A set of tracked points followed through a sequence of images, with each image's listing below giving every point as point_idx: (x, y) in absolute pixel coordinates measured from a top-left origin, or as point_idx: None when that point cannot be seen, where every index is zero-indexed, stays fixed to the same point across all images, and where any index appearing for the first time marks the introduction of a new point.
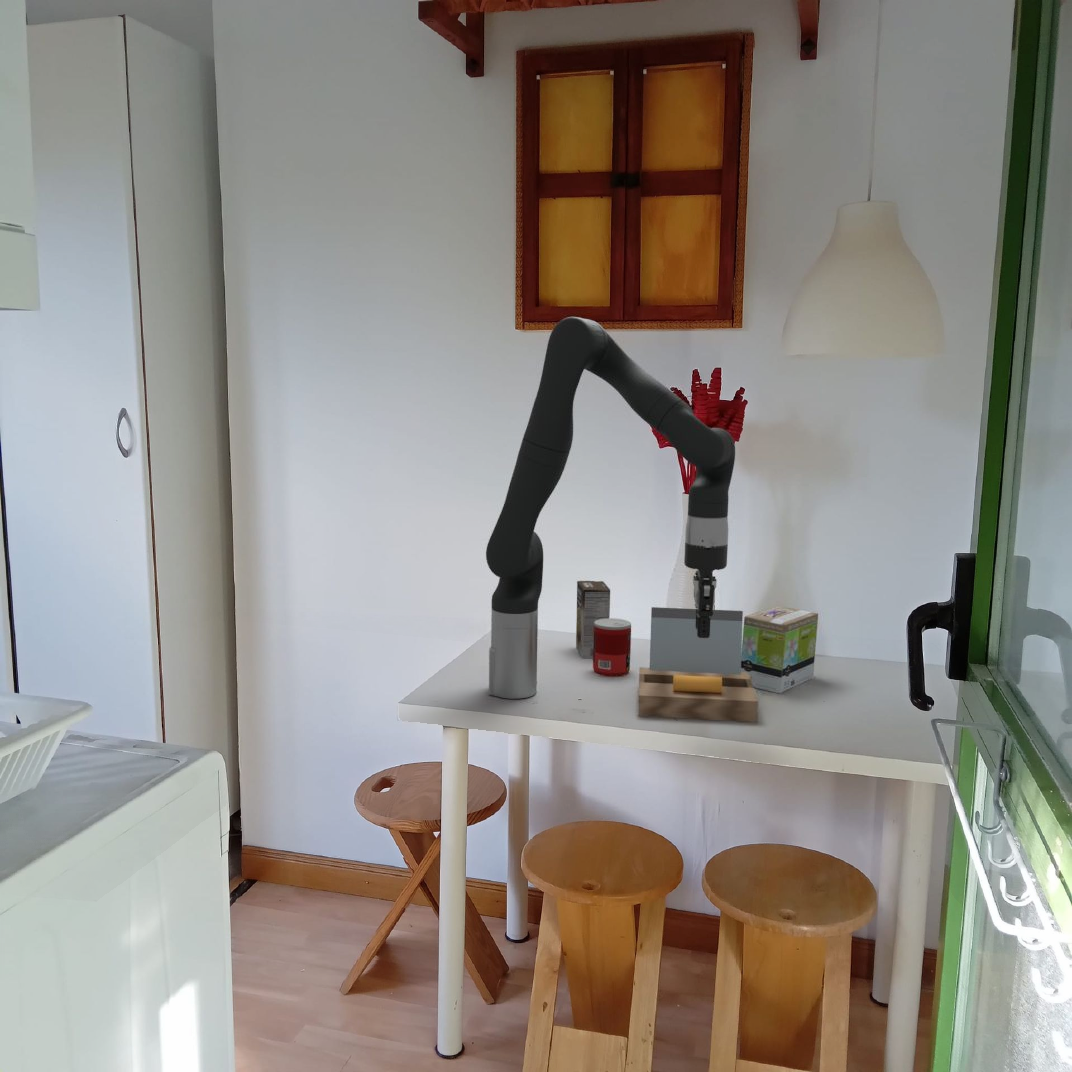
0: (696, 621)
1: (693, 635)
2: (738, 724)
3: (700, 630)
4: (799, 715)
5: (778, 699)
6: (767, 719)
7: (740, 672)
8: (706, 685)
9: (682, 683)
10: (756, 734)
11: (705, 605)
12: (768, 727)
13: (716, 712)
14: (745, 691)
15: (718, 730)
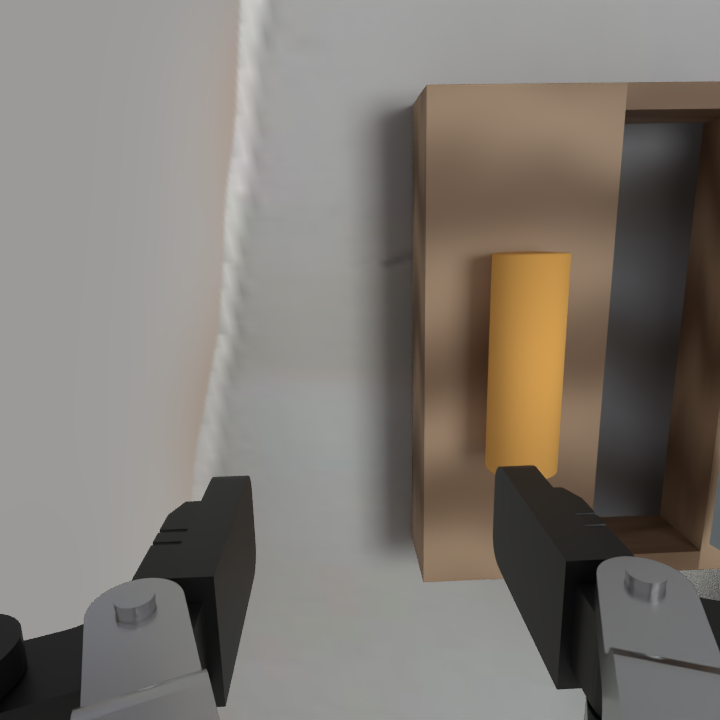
0: (517, 498)
1: None
2: (379, 478)
3: (162, 531)
4: (497, 664)
5: None
6: None
7: (717, 547)
8: (490, 404)
9: (496, 297)
10: (293, 528)
11: (598, 701)
12: (367, 568)
13: (416, 415)
14: None
15: (306, 410)
